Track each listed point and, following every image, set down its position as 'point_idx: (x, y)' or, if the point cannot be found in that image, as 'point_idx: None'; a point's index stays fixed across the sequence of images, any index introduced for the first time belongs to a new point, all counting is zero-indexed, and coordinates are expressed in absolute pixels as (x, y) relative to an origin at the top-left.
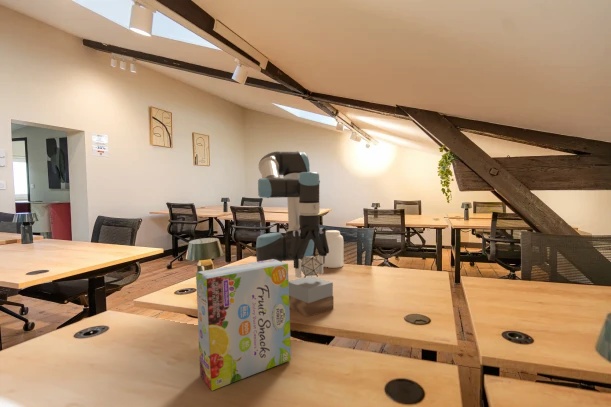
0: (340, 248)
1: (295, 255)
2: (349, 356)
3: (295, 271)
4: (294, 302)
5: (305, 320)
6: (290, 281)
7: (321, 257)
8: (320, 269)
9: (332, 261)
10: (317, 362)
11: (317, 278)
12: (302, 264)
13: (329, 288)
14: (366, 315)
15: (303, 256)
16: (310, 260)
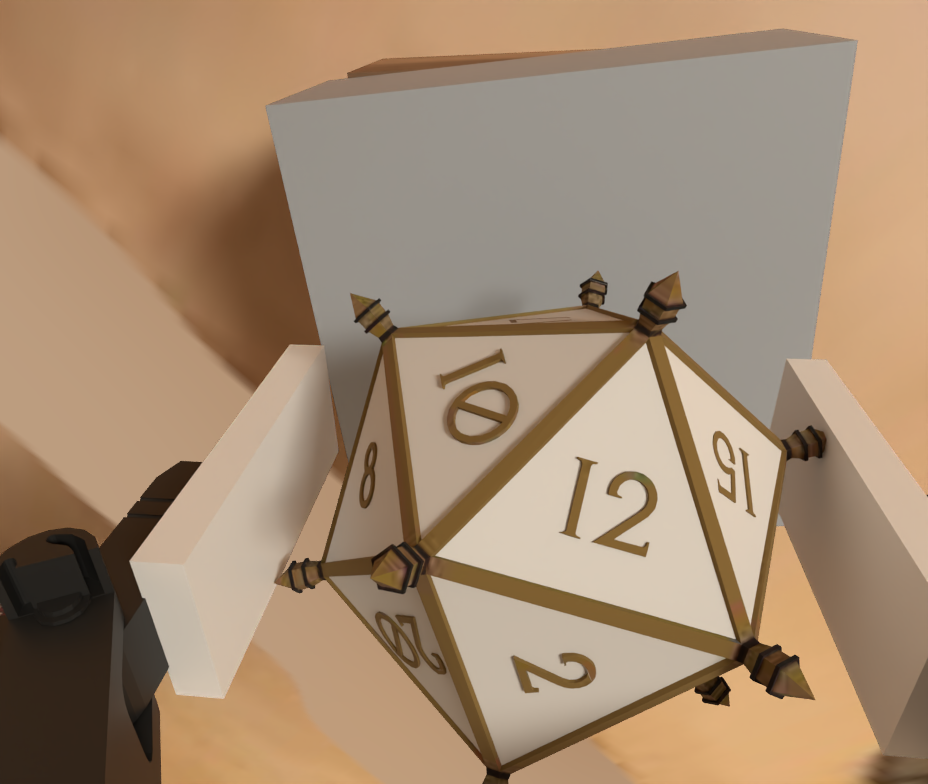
0: None
1: (64, 670)
2: (333, 768)
3: (260, 388)
4: None
5: None
6: (317, 134)
7: (875, 715)
8: (785, 480)
9: None
10: (193, 731)
11: (795, 260)
12: (329, 562)
13: None
14: (784, 596)
15: (416, 572)
16: (458, 721)
